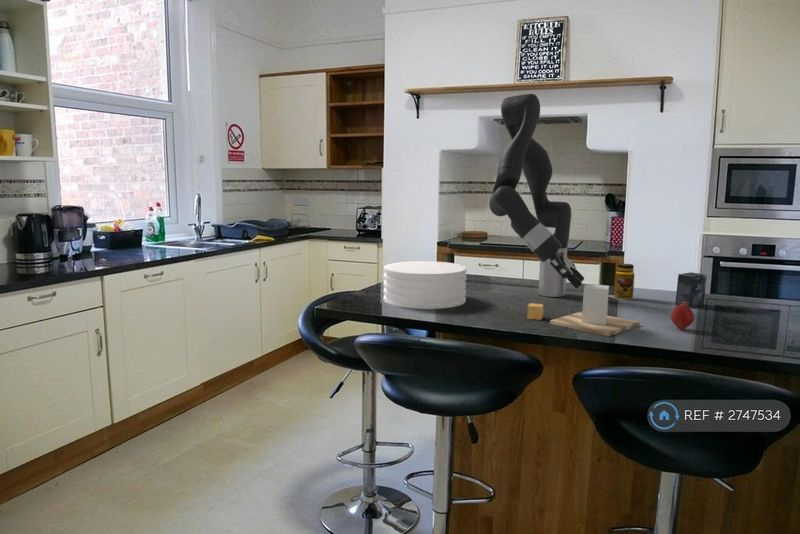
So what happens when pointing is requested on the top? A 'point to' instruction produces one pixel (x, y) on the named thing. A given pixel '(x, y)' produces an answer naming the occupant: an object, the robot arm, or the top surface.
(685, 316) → the onion
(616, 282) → the condiment
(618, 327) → the board
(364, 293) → the top surface
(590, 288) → the light grey rectangular block
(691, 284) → the box
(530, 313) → the fully visible block
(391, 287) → the plate stack
